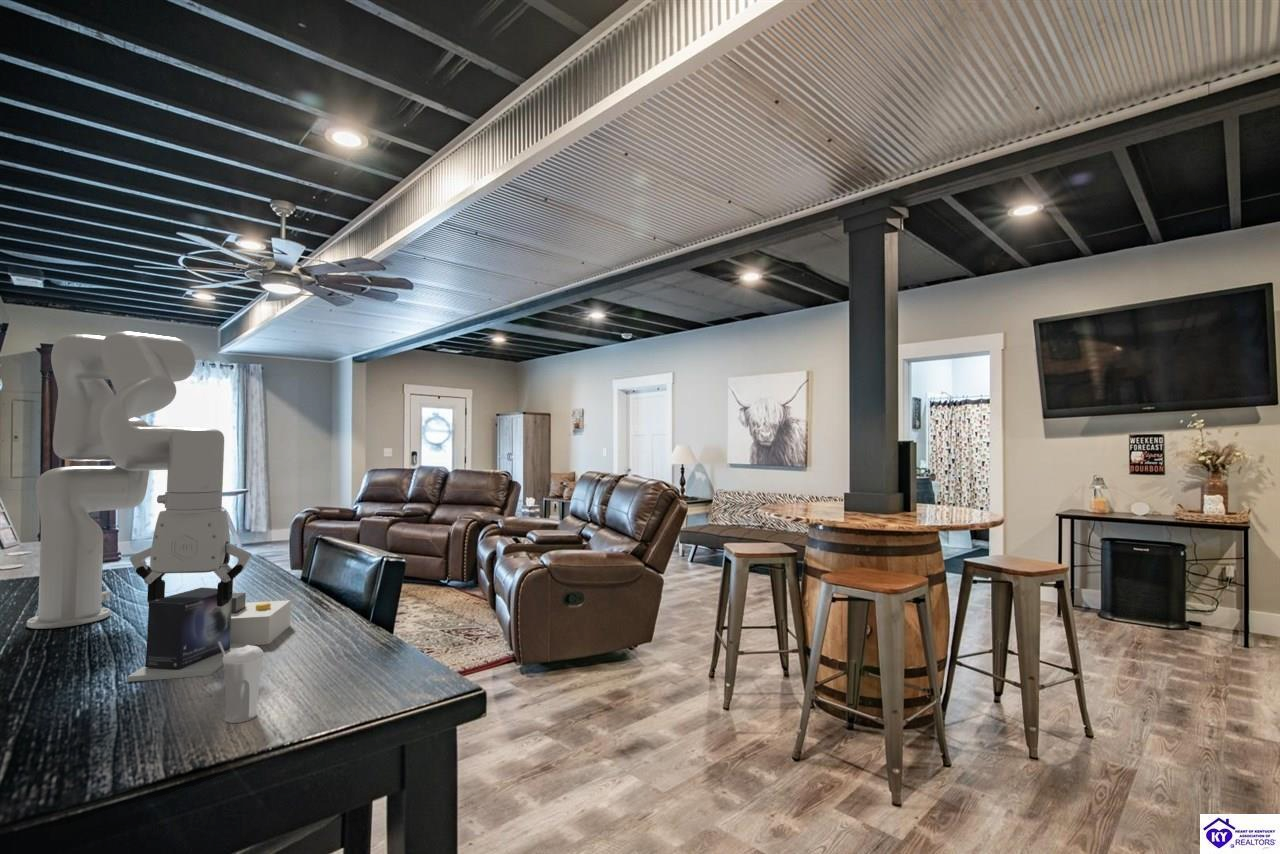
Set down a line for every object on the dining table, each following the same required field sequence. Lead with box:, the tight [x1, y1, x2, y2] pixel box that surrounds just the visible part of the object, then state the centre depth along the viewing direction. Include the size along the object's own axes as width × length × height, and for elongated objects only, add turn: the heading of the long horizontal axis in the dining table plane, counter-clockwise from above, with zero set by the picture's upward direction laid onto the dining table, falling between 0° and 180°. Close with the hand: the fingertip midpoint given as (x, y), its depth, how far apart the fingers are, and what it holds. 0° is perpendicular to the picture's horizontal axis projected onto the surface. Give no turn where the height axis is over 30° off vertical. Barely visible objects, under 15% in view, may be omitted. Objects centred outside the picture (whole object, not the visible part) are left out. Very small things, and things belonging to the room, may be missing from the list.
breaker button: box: [231, 592, 247, 614], centre depth 115 cm, size 4×4×6 cm
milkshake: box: [218, 642, 264, 724], centre depth 81 cm, size 4×5×10 cm
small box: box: [144, 586, 232, 669], centre depth 101 cm, size 11×6×10 cm, turn 174°
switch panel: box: [230, 599, 292, 646], centre depth 115 cm, size 12×14×6 cm
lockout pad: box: [126, 643, 245, 683], centre depth 101 cm, size 14×11×1 cm
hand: (190, 605), depth 102 cm, fingers open, 9 cm apart
